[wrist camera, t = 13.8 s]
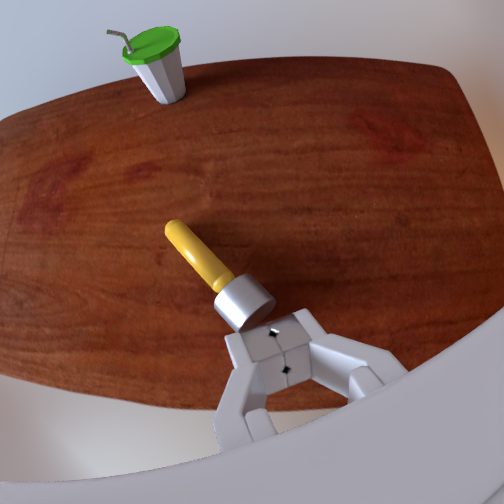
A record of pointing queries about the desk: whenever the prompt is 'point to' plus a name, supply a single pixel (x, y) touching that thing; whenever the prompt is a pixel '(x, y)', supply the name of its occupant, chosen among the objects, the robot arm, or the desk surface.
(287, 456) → the robot arm
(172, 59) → the cup
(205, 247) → the yellow lever knob
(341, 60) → the desk surface
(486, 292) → the desk surface
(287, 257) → the desk surface
